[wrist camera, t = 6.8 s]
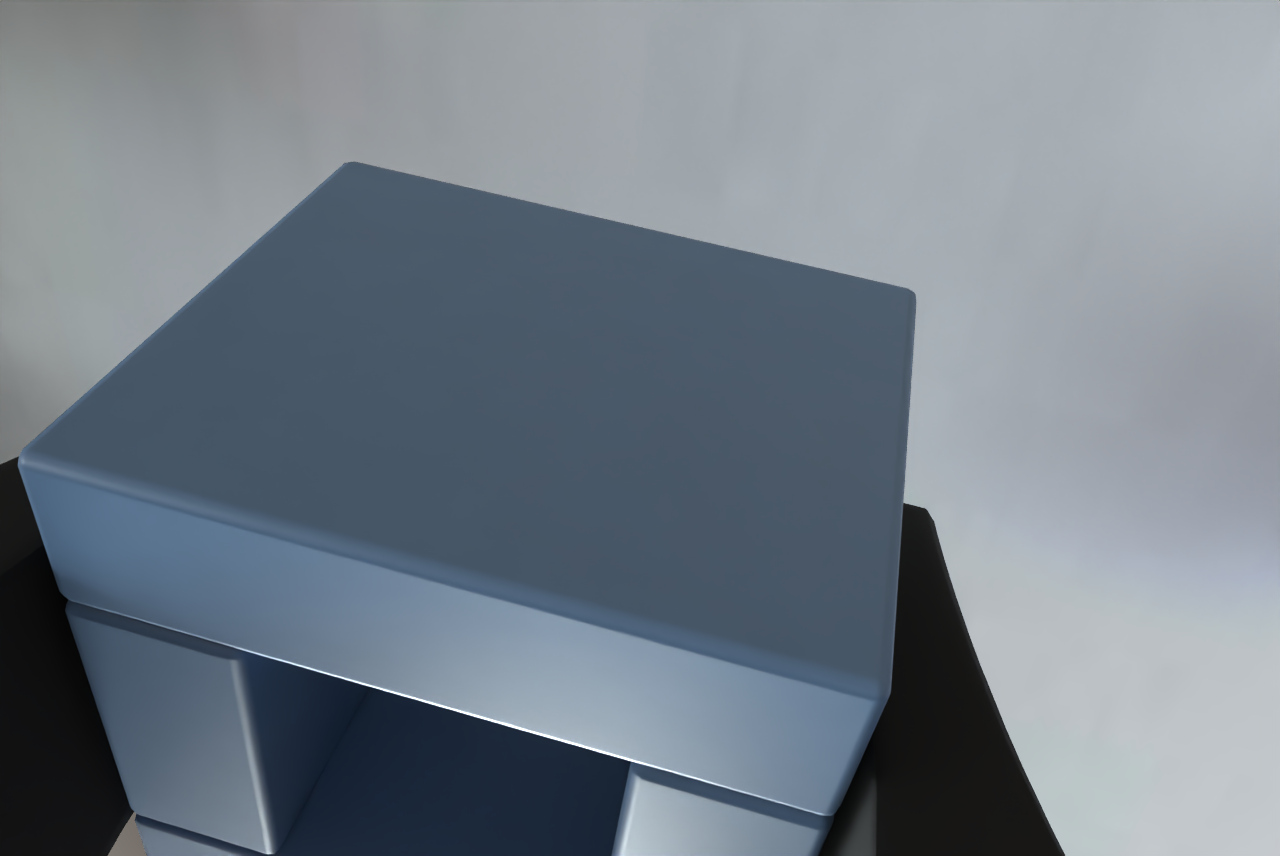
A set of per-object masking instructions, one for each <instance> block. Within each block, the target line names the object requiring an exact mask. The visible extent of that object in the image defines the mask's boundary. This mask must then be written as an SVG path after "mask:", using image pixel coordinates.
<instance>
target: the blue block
mask: <svg viewBox="0 0 1280 856" xmlns="http://www.w3.org/2000/svg"><path fill="white" fill-rule="evenodd" d="M915 315H916V296H915V293H914V292H913V291H911V290H909V289H907V288H903V287H899V286H894V285H890V284H886V283H881V282H877V281H873V280H868V279H864V278H859V277H855V276H851V275H846V274H842V273H838V272H833V271H829V270H825V269H820V268H816V267H812V266H807V265H803V264H798V263H794V262H790V261H785V260H781V259H777V258H772V257H768V256H764V255H759V254H755V253H751V252H746V251H742V250H737V249H733V248H729V247H724V246H720V245H716V244H711V243H707V242H703V241H698V240H694V239H690V238H685V237H681V236H676V235H672V234H668V233H663V232H659V231H655V230H650V229H646V228H642V227H637V226H633V225H629V224H624V223H620V222H616V221H611V220H607V219H602V218H598V217H594V216H589V215H585V214H581V213H576V212H572V211H568V210H563V209H559V208H555V207H550V206H546V205H541V204H537V203H533V202H528V201H524V200H520V199H515V198H511V197H507V196H502V195H498V194H494V193H489V192H485V191H480V190H476V189H472V188H467V187H463V186H459V185H454V184H450V183H446V182H441V181H437V180H433V179H428V178H424V177H419V176H415V175H411V174H406V173H402V172H398V171H393V170H389V169H385V168H380V167H376V166H372V165H367V164H363V163H358V162H348V163H344V164H343V165H342V166H341V167H340V168H339V169H338V170H336V171H335V172H334V173H333V174H332V175H331V176H330V177H329V178H327V179H326V180H325V181H324V182H323V183H322V184H321V185H320V186H318V187H317V188H316V189H315V190H314V191H313V192H312V193H311V194H309V195H308V196H307V197H306V198H305V199H304V200H303V201H302V202H300V203H299V204H298V205H297V206H296V207H295V208H294V209H293V210H291V211H290V212H289V213H288V214H287V215H286V216H285V217H284V218H282V219H281V220H280V221H279V222H278V223H277V224H276V225H275V226H273V227H272V228H271V229H270V230H269V231H268V232H267V233H266V234H264V235H263V236H262V237H261V238H260V239H259V240H258V241H257V242H255V243H254V244H253V245H252V246H251V247H250V248H249V249H248V250H246V251H245V252H244V253H243V254H242V255H241V256H240V257H239V258H237V259H236V260H235V261H234V262H233V263H232V264H231V265H230V266H228V267H227V268H226V269H225V270H224V271H223V272H222V273H221V274H219V275H218V276H217V277H216V278H215V279H214V280H213V281H212V282H210V283H209V284H208V285H207V286H206V287H205V288H204V289H203V290H201V291H200V292H199V293H198V294H197V295H196V296H195V297H194V298H192V299H191V300H190V301H189V302H188V303H187V304H186V305H185V306H183V307H182V308H181V309H180V310H179V311H178V312H177V313H175V314H174V315H173V316H172V317H171V318H170V319H169V320H168V321H166V322H165V323H164V324H163V325H162V326H161V327H160V328H159V329H157V330H156V331H155V332H154V333H153V334H152V335H151V336H150V337H148V338H147V339H146V340H145V341H144V342H143V343H142V344H141V345H139V346H138V347H137V348H136V349H135V350H134V351H133V352H132V353H130V354H129V355H128V356H127V357H126V358H125V359H124V360H123V361H121V362H120V363H119V364H118V365H117V366H116V367H115V368H114V369H112V370H111V371H110V372H109V373H108V374H107V375H106V376H105V377H103V378H102V379H101V380H100V381H99V382H98V383H97V384H96V385H94V386H93V387H92V388H91V389H90V390H89V391H88V392H87V393H85V394H84V395H83V396H82V397H81V398H80V399H79V400H78V401H76V402H75V403H74V404H73V405H72V406H71V407H70V408H69V409H67V410H66V411H65V412H64V413H63V414H62V415H61V416H60V417H58V418H57V419H56V420H55V421H54V422H53V423H52V424H51V425H49V426H48V427H47V428H46V429H45V430H44V431H43V432H42V433H40V434H39V435H38V436H37V437H36V438H35V439H34V440H33V441H31V442H30V443H29V444H28V445H27V446H26V447H25V448H24V449H23V450H22V452H21V454H20V456H19V459H18V468H19V471H20V474H21V477H22V480H23V483H24V486H25V489H26V492H27V495H28V498H29V501H30V504H31V507H32V510H33V513H34V516H35V519H36V522H37V525H38V528H39V531H40V534H41V537H42V540H43V543H44V546H45V549H46V552H47V555H48V558H49V561H50V564H51V567H52V570H53V573H54V576H55V579H56V582H57V585H58V588H59V591H60V592H61V593H62V594H63V595H64V596H65V597H66V598H67V599H68V602H67V604H66V609H65V612H66V615H67V618H68V621H69V624H70V627H71V630H72V633H73V636H74V639H75V642H76V645H77V648H78V651H79V654H80V657H81V660H82V663H83V666H84V669H85V672H86V675H87V678H88V681H89V684H90V687H91V690H92V693H93V696H94V699H95V702H96V705H97V708H98V711H99V714H100V717H101V720H102V723H103V726H104V729H105V732H106V735H107V738H108V741H109V744H110V747H111V750H112V753H113V756H114V759H115V762H116V765H117V768H118V771H119V774H120V777H121V780H122V783H123V786H124V789H125V792H126V795H127V798H128V801H129V804H130V807H131V809H132V810H133V811H134V812H135V813H136V818H135V822H136V825H137V828H138V831H139V834H140V837H141V840H142V843H143V846H144V849H145V852H146V855H147V856H819V853H820V851H821V849H822V847H823V844H824V842H825V840H826V838H827V835H828V833H829V831H830V829H831V826H832V824H833V822H834V814H835V813H836V811H837V810H838V808H839V807H840V805H841V804H842V801H843V799H844V797H845V795H846V792H847V790H848V788H849V786H850V783H851V781H852V779H853V777H854V774H855V772H856V770H857V768H858V765H859V763H860V761H861V759H862V756H863V754H864V752H865V750H866V748H867V745H868V743H869V741H870V739H871V736H872V734H873V732H874V730H875V727H876V725H877V723H878V721H879V718H880V716H881V714H882V712H883V709H884V707H885V705H886V703H887V700H888V698H889V696H890V694H891V683H892V668H893V653H894V637H895V622H896V606H897V591H898V576H899V560H900V545H901V530H902V514H903V499H904V484H905V468H906V453H907V438H908V422H909V407H910V391H911V376H912V361H913V345H914V330H915Z"/></svg>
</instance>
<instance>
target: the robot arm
mask: <svg viewBox="0 0 1280 856" xmlns="http://www.w3.org/2000/svg"><path fill="white" fill-rule="evenodd" d="M18 459H19V457H17V458H14V459H12V460H10V461H8V462H5V463H3V464H1V465H0V856H107V855H108V854H109V852H110V850H111V848H112V847H113V845H114V843H115V842H116V840H117V838H118V836H119V834H120V833H121V831H122V830H123V828H124V826H125V825H126V823H127V822H128V820H129V819H130V817H131V815H132V814H133V812H134V811H133V810H132V809H131V807H130V804H129V801H128V798H127V795H126V792H125V789H124V786H123V783H122V780H121V777H120V774H119V771H118V768H117V765H116V762H115V759H114V756H113V753H112V750H111V747H110V744H109V741H108V738H107V735H106V732H105V729H104V726H103V723H102V720H101V717H100V714H99V711H98V708H97V705H96V702H95V699H94V696H93V693H92V690H91V687H90V684H89V681H88V678H87V675H86V672H85V669H84V666H83V663H82V660H81V657H80V654H79V651H78V648H77V645H76V642H75V639H74V636H73V633H72V630H71V627H70V624H69V621H68V618H67V615H66V612H65V609H66V604H67V602H68V599H67V598H66V597H65V596H64V595H63V594H62V593H61V592H60V591H59V588H58V585H57V582H56V579H55V576H54V573H53V570H52V567H51V564H50V561H49V558H48V555H47V552H46V549H45V546H44V543H43V540H42V537H41V534H40V531H39V528H38V525H37V522H36V519H35V516H34V513H33V510H32V507H31V504H30V501H29V498H28V495H27V492H26V489H25V486H24V483H23V480H22V477H21V474H20V471H19V468H18ZM819 856H1065V854H1064V852H1063V850H1062V848H1061V846H1060V844H1059V842H1058V840H1057V838H1056V836H1055V834H1054V832H1053V830H1052V828H1051V826H1050V824H1049V822H1048V820H1047V818H1046V816H1045V813H1044V811H1043V809H1042V807H1041V805H1040V803H1039V801H1038V799H1037V796H1036V794H1035V792H1034V790H1033V788H1032V786H1031V784H1030V782H1029V779H1028V777H1027V775H1026V773H1025V771H1024V769H1023V767H1022V764H1021V762H1020V760H1019V757H1018V755H1017V753H1016V751H1015V748H1014V746H1013V744H1012V741H1011V739H1010V737H1009V735H1008V732H1007V730H1006V728H1005V725H1004V723H1003V720H1002V718H1001V715H1000V713H999V710H998V708H997V705H996V703H995V700H994V698H993V695H992V693H991V690H990V688H989V685H988V683H987V680H986V678H985V675H984V673H983V670H982V668H981V666H980V663H979V660H978V658H977V655H976V652H975V650H974V647H973V644H972V641H971V639H970V636H969V633H968V630H967V627H966V625H965V622H964V619H963V616H962V613H961V610H960V607H959V604H958V601H957V598H956V595H955V592H954V589H953V586H952V583H951V580H950V577H949V573H948V570H947V567H946V563H945V560H944V557H943V553H942V550H941V546H940V543H939V539H938V535H937V531H936V527H935V523H934V521H933V519H932V517H931V516H930V514H929V513H928V511H927V510H926V509H925V508H921V507H917V506H913V505H909V504H905V503H903V514H902V530H901V545H900V560H899V576H898V591H897V606H896V622H895V637H894V653H893V668H892V683H891V694H890V696H889V698H888V700H887V703H886V705H885V707H884V709H883V712H882V714H881V716H880V718H879V721H878V723H877V725H876V727H875V730H874V732H873V734H872V736H871V739H870V741H869V743H868V745H867V748H866V750H865V752H864V754H863V756H862V759H861V761H860V763H859V765H858V768H857V770H856V772H855V774H854V777H853V779H852V781H851V783H850V786H849V788H848V790H847V792H846V795H845V797H844V799H843V801H842V804H841V805H840V807H839V808H838V810H837V811H836V813H835V814H834V822H833V824H832V826H831V829H830V831H829V833H828V835H827V838H826V840H825V842H824V844H823V847H822V849H821V851H820V853H819Z"/></svg>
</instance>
